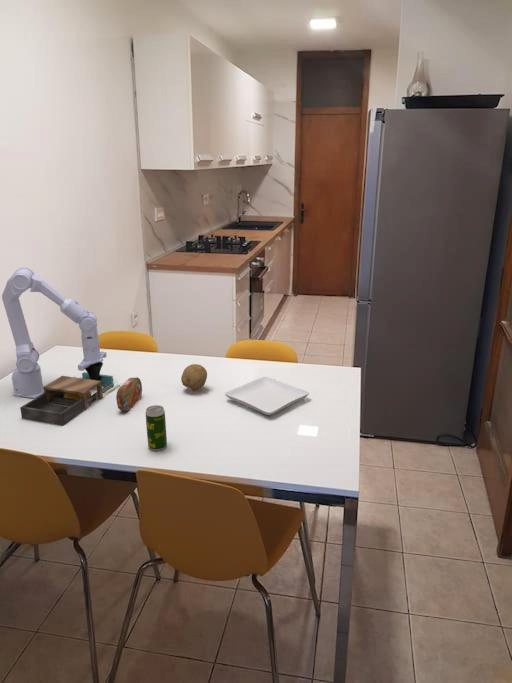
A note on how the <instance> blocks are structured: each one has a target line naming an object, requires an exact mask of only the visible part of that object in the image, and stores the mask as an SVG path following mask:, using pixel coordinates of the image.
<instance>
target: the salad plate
mask: <svg viewBox="0 0 512 683" xmlns="http://www.w3.org/2000/svg"><path fill="white" fill-rule="evenodd" d="M309 394H310V392H309V391H306V390H304V389H301V388H299V387H297V386H294V385H291V384H288V383H285V382H282V381H279V380H276V379H275V378H272V377H268V376H263V377H260V378H257V379H255V380H252V381H250V382H248V383H247V382H246V383H245V384H243V385H241V386H237V387H236V388H233V389H230V390H228V391H226V392H224V396H225V397H227V398H229V400H231V401H234V402H236V403H238V404H241V405H243V406H246V407H248V408H250V409H252V410H254V411H257V412H259V413H262V414H264V415H266V416H271V415H274V414H276V413H277V412H279V411H282V410H283V409H285V408H287V407H289V406H291V405H292V404H295V403H297V402H299V401H302V400H303V399H305V398H307V397H308V395H309Z"/></svg>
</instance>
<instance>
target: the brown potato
mask: <svg viewBox="0 0 512 683" xmlns="http://www.w3.org/2000/svg"><path fill="white" fill-rule="evenodd" d="M207 378H208V372H207V369H206V367H205V366H202V365H201V364H196V363H192V364H189V365H188V366H186V367H185V368H184V369H183V372H182V374H181V377H180V382H181V384H182V386H184V387H186V388H188V389H191V390H192V391H194V392H199V391H200V390H201V389H202V388H203V387H204V386H205V384H206V382H207Z"/></svg>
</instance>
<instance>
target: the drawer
mask: <svg viewBox="0 0 512 683" xmlns="http://www.w3.org/2000/svg"><path fill="white" fill-rule="evenodd" d="M81 376H82V377H81V378H82V379H89V380H91V379H90V377H89V374H88V373H87V371H84V372H83V371H82V373H81ZM99 381H101V385H102V386H103V387H102V394H103V393H106V392H107V391H109V390H110V388H113V386H114V376H113V375H109V374H108V375H107V374H99ZM114 387H115V386H114ZM64 393H65V392H63V393H61V394H59V395H58V396H52V397H51V398H52V402H51V403H52V404H58V405H59V404H60V405H64V406H65V405H66V406H72V405H73V404H75V403H76V402H78V401H79V400H77V399H70V398H64ZM96 398H98V395H97V391H96V392H94V393H93V394H91V396H90V397H89V398H87V405H88V404H89V403H91V402H92V401H93V400H95V399H96Z"/></svg>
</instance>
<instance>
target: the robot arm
mask: <svg viewBox="0 0 512 683" xmlns="http://www.w3.org/2000/svg"><path fill="white" fill-rule="evenodd" d="M28 290H29V293H40V294H42V295H43V296H45V297H46V298H48V299H49V300H50V301H52V302H54V304H56V305H57V306H59V307H60V308H59V309H60V312H61V313H62V314H64V315H65V316H66V317H68V319H69V320H71V321H73V322H74V323H75V324H78V328H79V330H81V338H80V339H81V346H82V353H83V359H82V360H81V362H80V363H78V365H77V371H81V372H83V371H84V372H86V373H88V374H89V377H90V379H91V380H97V381H99V374H100V373H101V370H102V368H103V365H104V363H103V361H104V359H105V358H107V357H108V356H107V352H106V351H101V348H100V341H99V340H100V339H99V333H98V319H97V316H96V314H94V312H93V311H90V310H89V309H85V308H84V307H83V306H82V305H81V304H79V301H78V300H77V299H75V300H74V299H73V298H66V297H65V296H64V295H62V294H61V293H60V292H59V291H58V290H57V289H55V288H54V287H53V286H52V285H50V284H49V282H47V280H45V279H44V278H43V277H42V276H41V275H40V274H37V273H36V272H34V271H33V270H32V269H30V268H29V267H24V266H23V267H19V268H18V269H17V270H15V271H14V273H13V274H12V275H11V276H10V277H9V278H8V279H7V281H6V284H5V287H4V289H3V292H2V294H1V300H2V303H3V306H4V309H5V312H6V316H7V317H6V318H7V320H8V323H9V326H10V330H11V333H12V338H13V341H14V346H15V356H16V362H15V366H16V368H15V369H14V370H13V371H12V374H11V382H12V386H13V393H12V396H16V397H21V396H22V397H23V398H29V399H35V398H37V397H38V396H40V395H42V394H43V393H44V389H43V387H44V384H43V383H44V382H43V376H42V370H41V366H40V364H39V363H38V361H39V359H40V354H39V351H38V350H37V349H36V347H35V345H34V343H33V342H32V341H31V336H30V334H29V330H28V327H27V324H26V320H25V315H24V312H23V309H22V306H21V302H20V297H21V295H23V293H25V292H26V291H28Z"/></svg>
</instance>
